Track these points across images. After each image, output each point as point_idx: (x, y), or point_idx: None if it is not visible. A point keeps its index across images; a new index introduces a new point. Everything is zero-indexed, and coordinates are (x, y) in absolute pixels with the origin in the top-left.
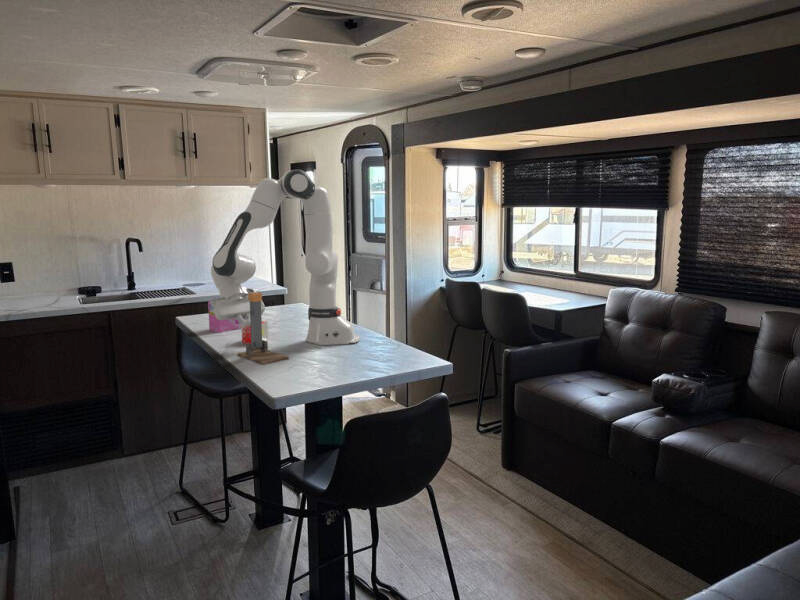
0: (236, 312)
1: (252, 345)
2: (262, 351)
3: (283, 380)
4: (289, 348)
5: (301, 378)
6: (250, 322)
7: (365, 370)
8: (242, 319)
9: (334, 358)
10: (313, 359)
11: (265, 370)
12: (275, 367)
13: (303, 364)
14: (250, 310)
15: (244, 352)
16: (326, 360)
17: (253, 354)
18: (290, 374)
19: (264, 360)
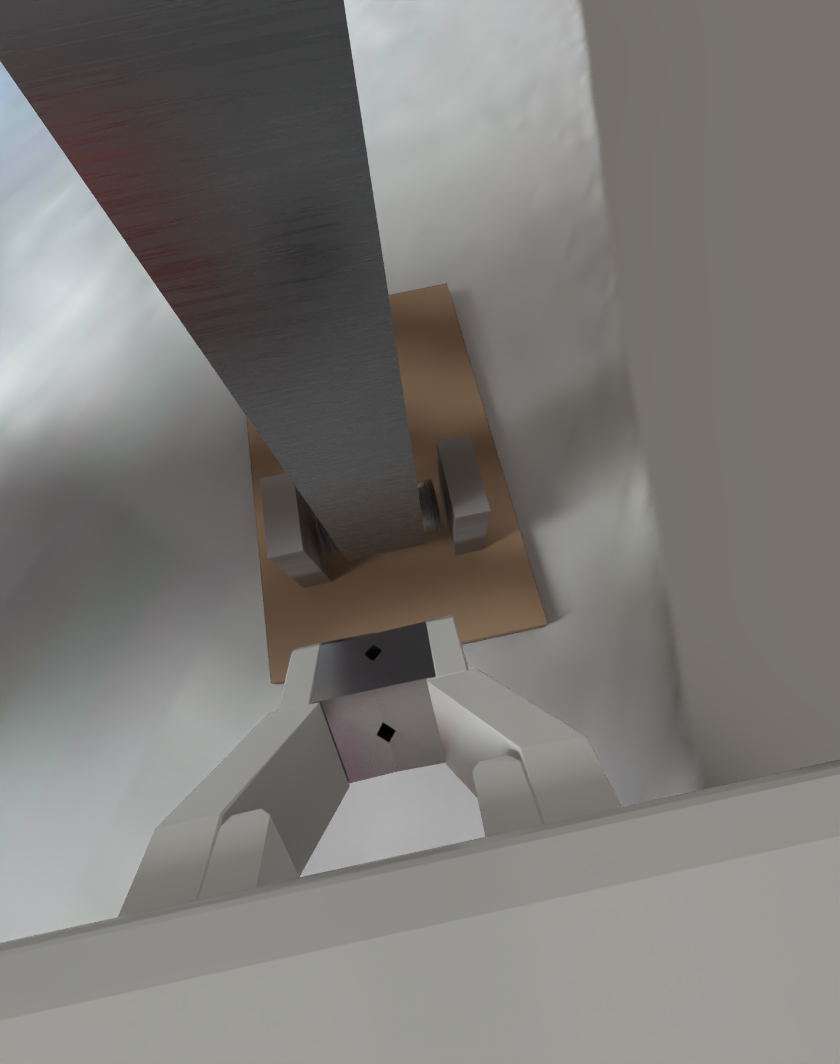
0: (739, 817)
1: (440, 449)
2: (327, 555)
3: (456, 53)
4: (58, 612)
5: (371, 51)
6: (400, 377)
7: None
8: (478, 681)
9: (22, 241)
10: (128, 270)
11: (477, 197)
12: (403, 222)
13: None
14: (348, 55)
15: (481, 606)
16: (85, 226)
17: None
18: (387, 105)
19: (420, 318)
